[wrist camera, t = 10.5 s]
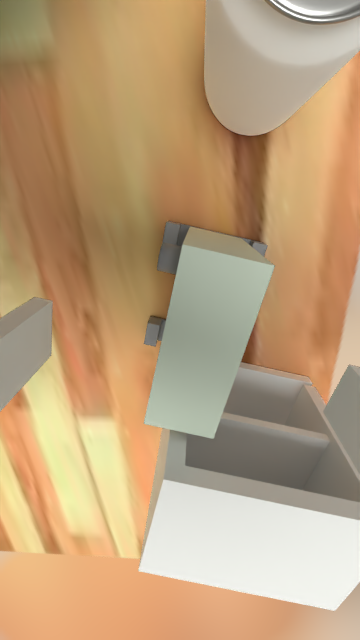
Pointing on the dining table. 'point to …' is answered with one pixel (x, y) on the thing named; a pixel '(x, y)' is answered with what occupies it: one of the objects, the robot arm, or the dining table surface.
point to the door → (205, 328)
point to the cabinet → (256, 491)
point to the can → (273, 56)
